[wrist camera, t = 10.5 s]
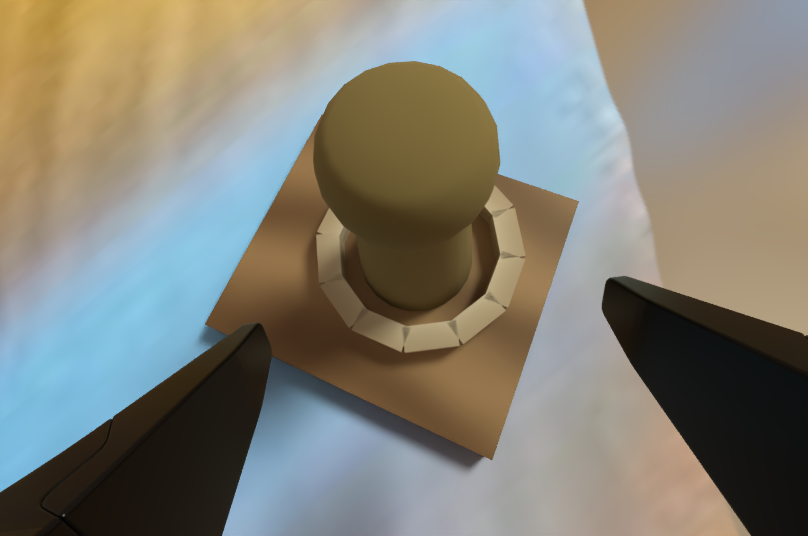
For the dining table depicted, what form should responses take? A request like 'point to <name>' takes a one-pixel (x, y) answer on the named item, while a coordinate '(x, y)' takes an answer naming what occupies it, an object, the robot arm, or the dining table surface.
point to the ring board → (396, 328)
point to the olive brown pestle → (408, 177)
